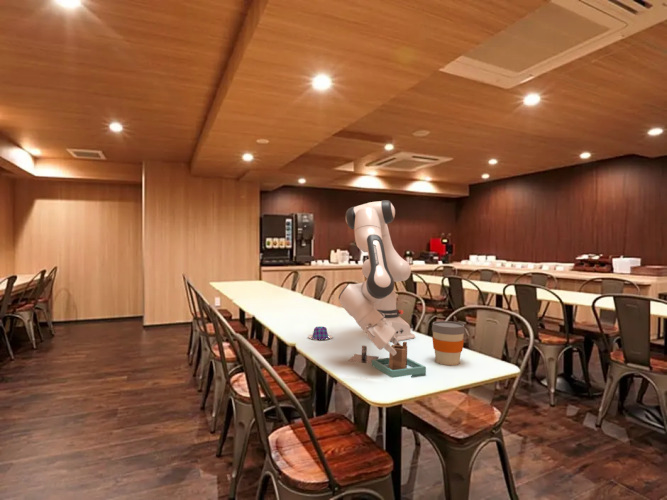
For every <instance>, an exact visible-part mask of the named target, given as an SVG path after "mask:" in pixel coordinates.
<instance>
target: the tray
mask: <svg viewBox="0 0 667 500" xmlns="http://www.w3.org/2000/svg"><path fill="white" fill-rule="evenodd" d="M386 365H389V357H385V358H383V357H382V358H378V359H374V360H372V364H371V366H372V367H374V368H375V369H377V370H379V371H380V372H382V373H383V374H386V375H387V376H388V377H390V378H397V377H406V376H410V375H411V376H410V378H417V377H424V376H426V375H427V367H426V366H425V365H423V364H421V363H419V362H417V361H415V360H412V359H411V358H408V357H407V366H409V367H408V368H406V369H398V370H392V369H390V368H389V366H386Z"/></svg>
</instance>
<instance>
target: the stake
mask: <svg viewBox="0 0 667 500" xmlns="http://www.w3.org/2000/svg"><path fill="white" fill-rule="evenodd" d="M367 347H368V346H367V345H361V354H359V353H355V354H354V355H353V356H352V357H351V358H349V360H348V362H354V363H362V364H368V365H369V364H370V365H372V360H374V359H380V358H379V357H380V356H374V355H368V354H367V353H368V351H367V349H368V348H367Z"/></svg>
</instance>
